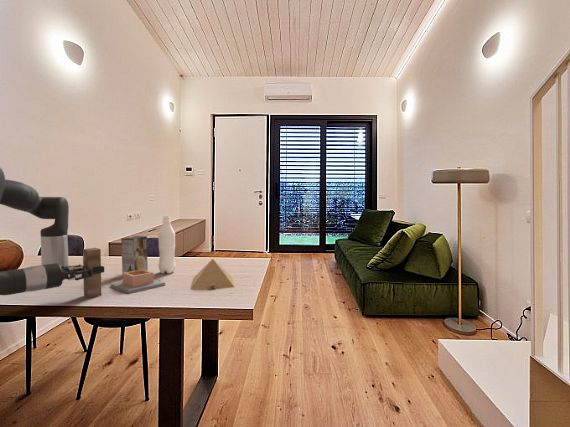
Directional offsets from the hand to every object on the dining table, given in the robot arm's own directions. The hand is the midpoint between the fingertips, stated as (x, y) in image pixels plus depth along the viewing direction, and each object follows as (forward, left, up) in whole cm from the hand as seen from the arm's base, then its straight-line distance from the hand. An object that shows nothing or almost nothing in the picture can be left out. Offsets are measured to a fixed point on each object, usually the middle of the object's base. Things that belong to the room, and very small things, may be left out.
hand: (100, 268), depth 114 cm
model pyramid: (+18, +34, -10) cm, 40 cm away
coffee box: (-20, +22, -9) cm, 31 cm away
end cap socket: (0, +13, -9) cm, 16 cm away
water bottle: (-11, +32, -9) cm, 35 cm away
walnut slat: (0, -3, -9) cm, 9 cm away
